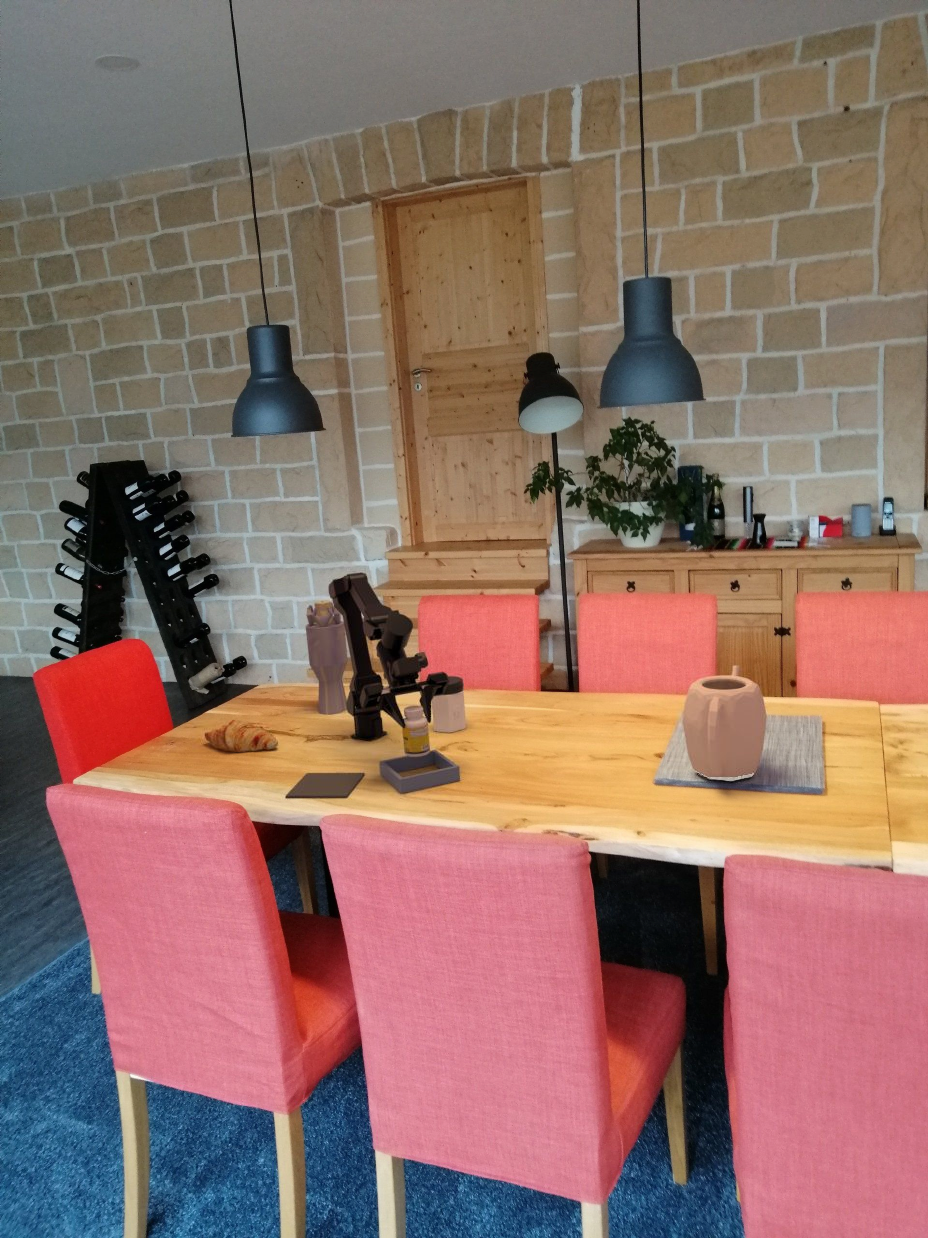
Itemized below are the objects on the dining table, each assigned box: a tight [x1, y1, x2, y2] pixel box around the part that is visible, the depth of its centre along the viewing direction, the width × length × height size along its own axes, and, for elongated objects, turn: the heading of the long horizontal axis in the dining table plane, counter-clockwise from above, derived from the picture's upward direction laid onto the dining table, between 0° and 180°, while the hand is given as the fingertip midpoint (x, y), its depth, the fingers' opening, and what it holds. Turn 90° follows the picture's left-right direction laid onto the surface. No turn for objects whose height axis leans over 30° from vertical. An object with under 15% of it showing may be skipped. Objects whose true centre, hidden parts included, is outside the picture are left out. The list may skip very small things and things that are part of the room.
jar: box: [431, 675, 467, 734], centre depth 227 cm, size 9×8×12 cm
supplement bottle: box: [401, 705, 431, 757], centre depth 194 cm, size 5×5×10 cm
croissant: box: [204, 719, 279, 753], centre depth 225 cm, size 21×10×8 cm, turn 67°
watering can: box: [682, 665, 767, 777], centre depth 185 cm, size 16×27×19 cm, turn 154°
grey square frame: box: [378, 749, 461, 795], centre depth 195 cm, size 13×13×3 cm
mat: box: [285, 772, 366, 799], centre depth 194 cm, size 13×13×1 cm
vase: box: [305, 600, 348, 715], centre depth 249 cm, size 10×10×30 cm
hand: (417, 724), depth 192 cm, fingers closed on supplement bottle, 5 cm apart
